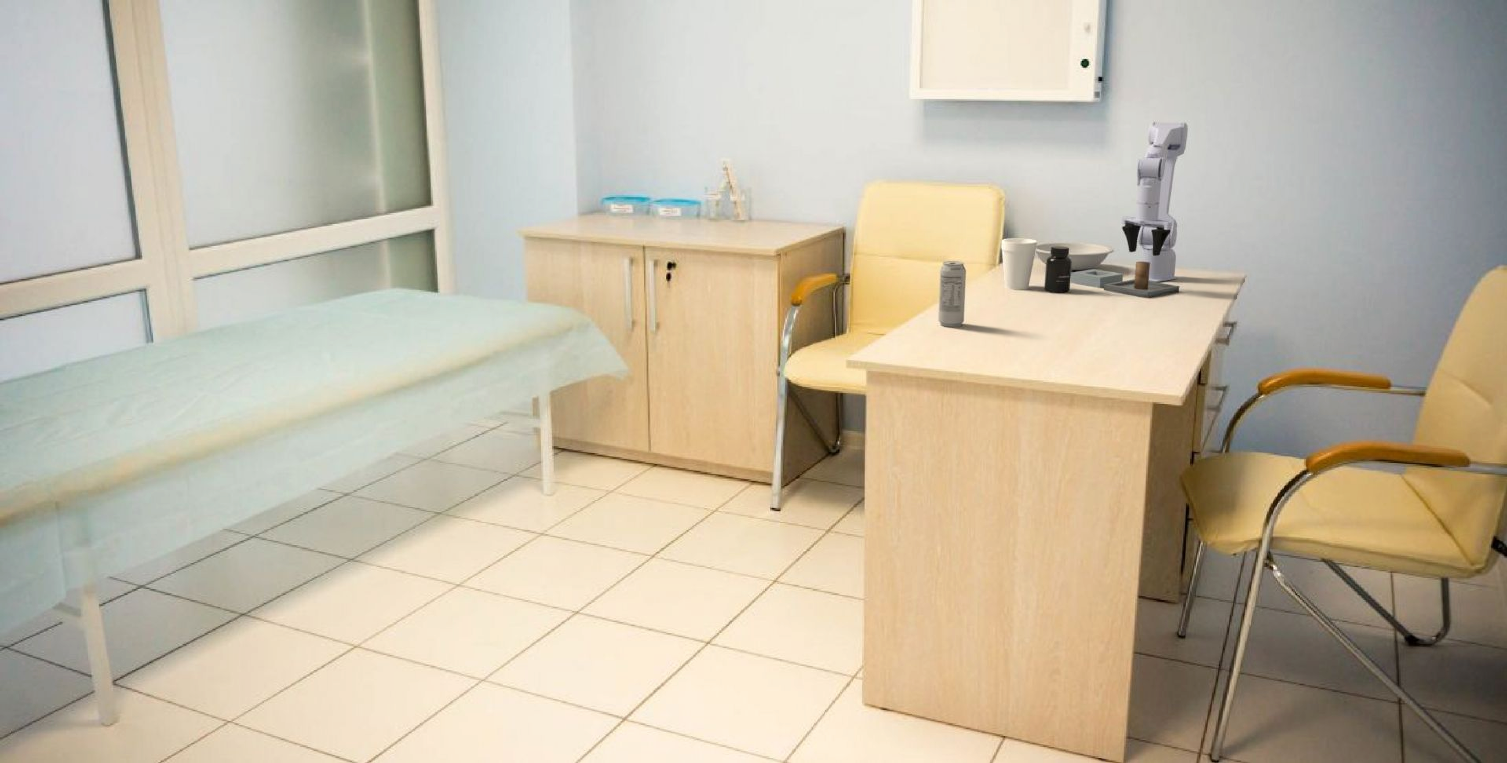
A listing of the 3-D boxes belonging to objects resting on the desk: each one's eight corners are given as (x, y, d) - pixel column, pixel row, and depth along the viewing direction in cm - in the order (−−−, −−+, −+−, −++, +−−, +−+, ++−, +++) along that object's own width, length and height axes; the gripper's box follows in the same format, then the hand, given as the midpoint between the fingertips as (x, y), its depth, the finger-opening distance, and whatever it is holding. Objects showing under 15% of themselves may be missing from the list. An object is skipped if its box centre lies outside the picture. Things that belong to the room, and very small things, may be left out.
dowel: (1139, 286, 341) (1141, 261, 339) (1150, 288, 338) (1152, 262, 336) (1131, 287, 339) (1133, 262, 337) (1142, 289, 336) (1144, 264, 334)
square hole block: (1093, 278, 357) (1094, 269, 356) (1122, 283, 349) (1123, 273, 348) (1070, 282, 351) (1071, 272, 350) (1099, 287, 343) (1100, 277, 343)
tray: (1135, 284, 348) (1136, 278, 348) (1178, 292, 337) (1179, 286, 337) (1103, 290, 340) (1104, 284, 340) (1146, 298, 329) (1147, 292, 329)
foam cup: (1032, 284, 348) (1034, 238, 344) (1036, 291, 339) (1038, 243, 336) (997, 284, 349) (1000, 238, 345) (1000, 290, 340) (1003, 243, 337)
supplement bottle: (1063, 294, 334) (1066, 250, 331) (1040, 291, 338) (1042, 247, 335) (1074, 290, 340) (1076, 246, 337) (1050, 287, 344) (1053, 244, 341)
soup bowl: (1013, 266, 378) (1014, 244, 376) (1076, 261, 387) (1078, 239, 386) (1064, 279, 356) (1065, 256, 355) (1129, 273, 366) (1131, 250, 365)
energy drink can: (967, 323, 299) (970, 262, 295) (958, 328, 294) (960, 265, 290) (943, 321, 302) (946, 259, 298) (934, 325, 297) (936, 263, 293)
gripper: (1116, 201, 336) (1112, 251, 339) (1162, 206, 324) (1157, 258, 328) (1132, 199, 340) (1128, 249, 343) (1178, 204, 329) (1174, 255, 332)
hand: (1144, 253), depth 336 cm, fingers open, 7 cm apart
